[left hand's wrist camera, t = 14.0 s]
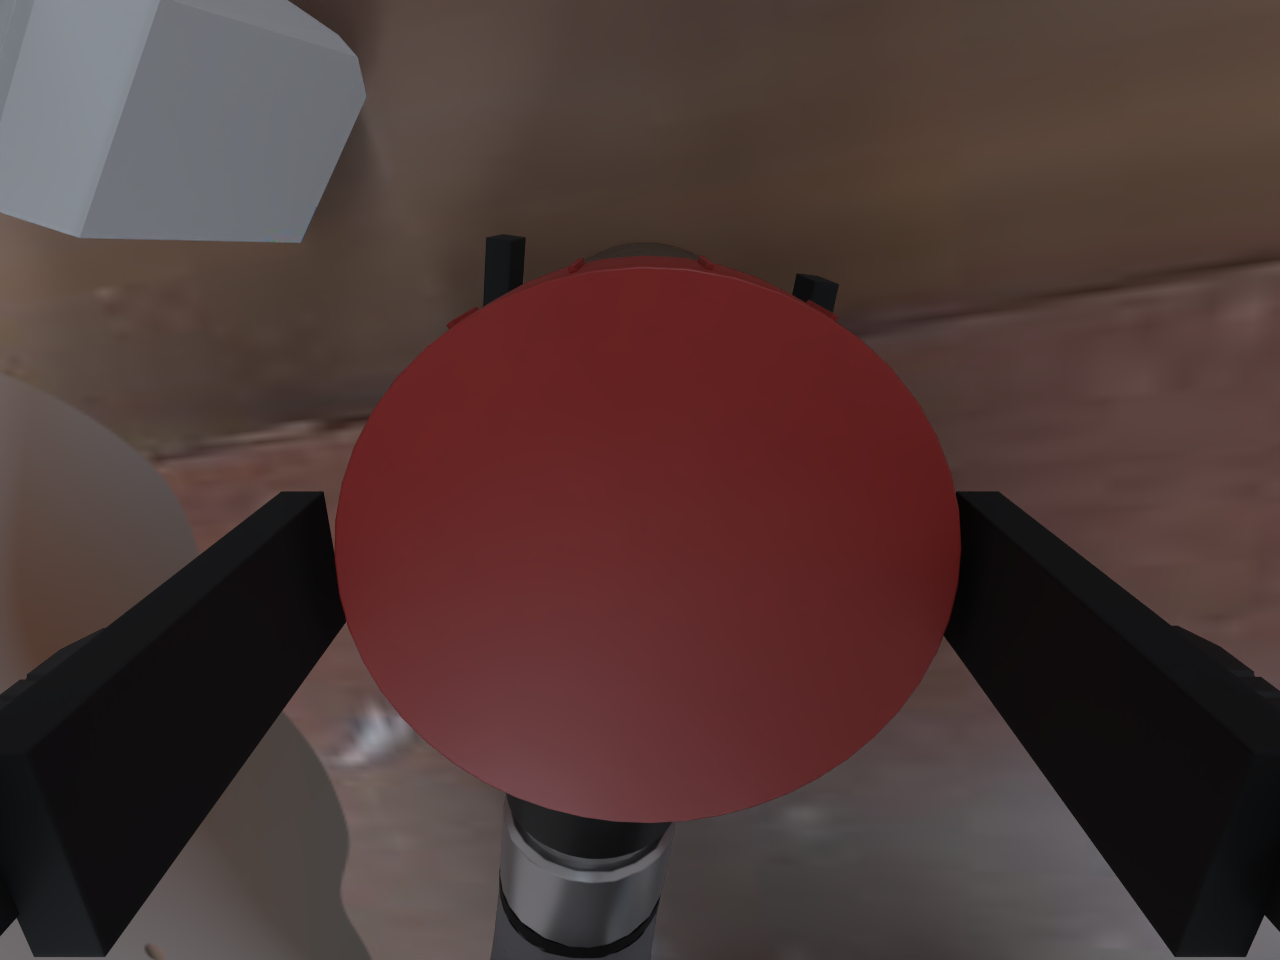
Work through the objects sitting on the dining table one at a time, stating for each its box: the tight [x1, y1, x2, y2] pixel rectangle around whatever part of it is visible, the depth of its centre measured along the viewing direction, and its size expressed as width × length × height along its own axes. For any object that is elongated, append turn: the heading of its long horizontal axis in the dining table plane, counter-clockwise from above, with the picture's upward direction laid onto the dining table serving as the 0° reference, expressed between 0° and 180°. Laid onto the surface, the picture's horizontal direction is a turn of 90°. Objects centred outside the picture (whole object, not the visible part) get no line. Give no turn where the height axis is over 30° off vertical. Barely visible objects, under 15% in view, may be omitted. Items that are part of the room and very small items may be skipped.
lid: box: [335, 256, 961, 823], centre depth 13 cm, size 10×10×2 cm
